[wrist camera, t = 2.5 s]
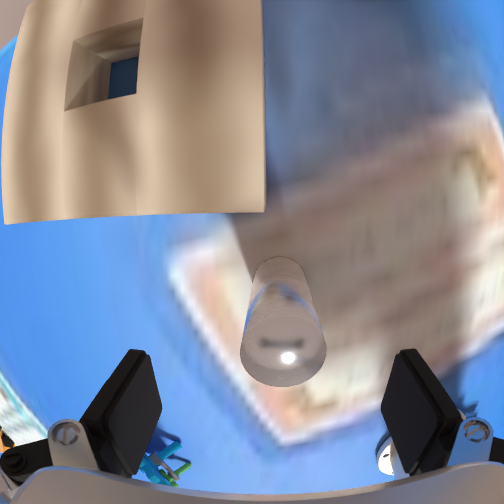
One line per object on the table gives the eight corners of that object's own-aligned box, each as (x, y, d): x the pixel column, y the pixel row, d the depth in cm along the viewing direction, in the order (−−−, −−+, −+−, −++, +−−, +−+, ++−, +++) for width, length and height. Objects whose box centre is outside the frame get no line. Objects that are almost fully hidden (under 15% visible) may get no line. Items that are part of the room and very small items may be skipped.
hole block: (261, -22, 17) (257, -64, 11) (266, 203, 21) (264, 212, 16) (62, 24, 18) (27, 5, 12) (48, 213, 23) (4, 224, 17)
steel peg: (306, 256, 22) (330, 316, 13) (304, 305, 23) (321, 386, 14) (253, 256, 22) (238, 315, 13) (253, 305, 23) (241, 385, 14)
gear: (103, 421, 27) (136, 478, 19) (141, 396, 30) (184, 446, 23) (147, 467, 31) (185, 514, 23) (179, 445, 34) (222, 488, 27)
